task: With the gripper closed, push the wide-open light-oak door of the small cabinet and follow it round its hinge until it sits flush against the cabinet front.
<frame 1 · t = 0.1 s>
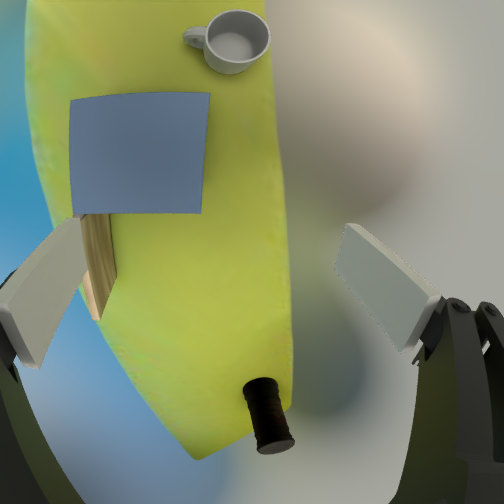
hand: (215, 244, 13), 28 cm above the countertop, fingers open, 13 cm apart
door: (97, 252, 33), point 7 cm above the countertop, hinge at 90.0°
cabinet: (153, 142, 35), on the countertop
cup: (219, 50, 30), on the countertop
container: (259, 386, 64), on the countertop
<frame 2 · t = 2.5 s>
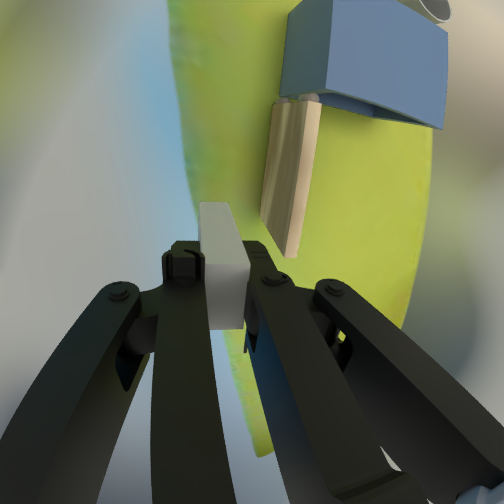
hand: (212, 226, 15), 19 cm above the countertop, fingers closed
door: (284, 166, 27), point 6 cm above the countertop, hinge at 90.0°
cabinet: (336, 65, 28), on the countertop
cup: (387, 5, 23), on the countertop
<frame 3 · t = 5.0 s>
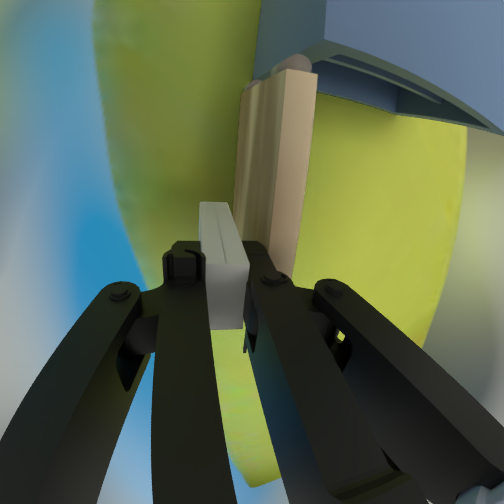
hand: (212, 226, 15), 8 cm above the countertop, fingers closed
door: (257, 198, 16), point 7 cm above the countertop, hinge at 88.8°, touching gripper
cabinet: (339, 35, 17), on the countertop
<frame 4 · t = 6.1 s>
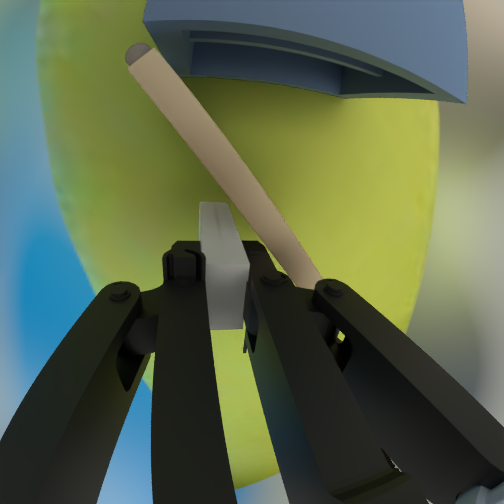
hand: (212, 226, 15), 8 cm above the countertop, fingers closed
door: (231, 169, 15), point 6 cm above the countertop, hinge at 50.1°, touching gripper
cabinet: (273, 19, 16), on the countertop
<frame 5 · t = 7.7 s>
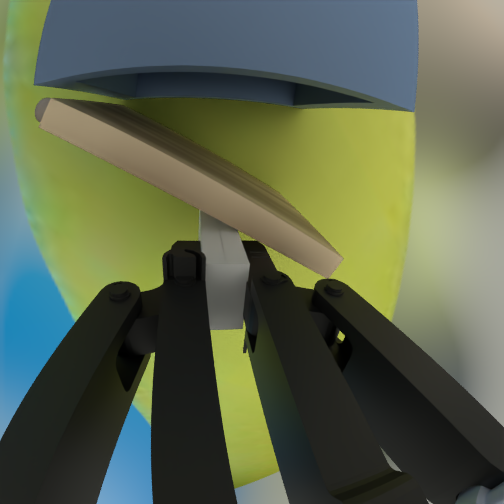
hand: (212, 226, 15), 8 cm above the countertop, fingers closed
door: (192, 162, 14), point 7 cm above the countertop, hinge at 27.9°, touching gripper
cabinet: (222, 29, 16), on the countertop
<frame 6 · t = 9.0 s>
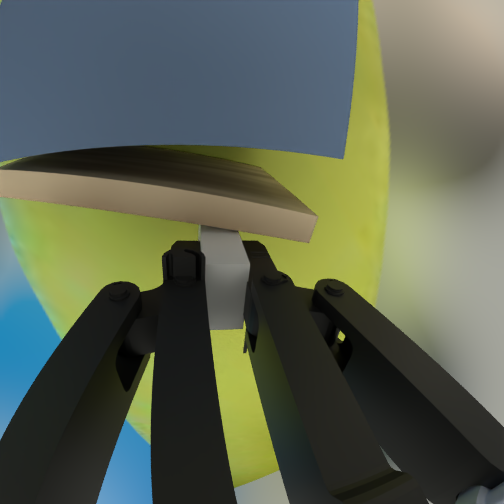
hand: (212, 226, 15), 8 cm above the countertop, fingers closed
door: (150, 169, 14), point 6 cm above the countertop, hinge at 9.0°, touching gripper
cabinet: (178, 56, 16), on the countertop
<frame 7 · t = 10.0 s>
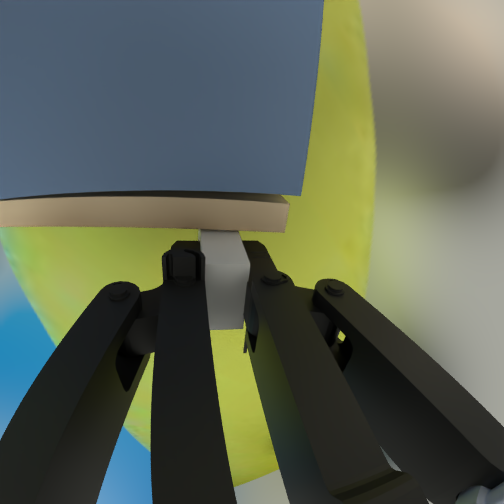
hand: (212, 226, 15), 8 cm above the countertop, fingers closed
door: (128, 179, 14), point 6 cm above the countertop, hinge at 1.3°, touching gripper
cabinet: (158, 74, 17), on the countertop
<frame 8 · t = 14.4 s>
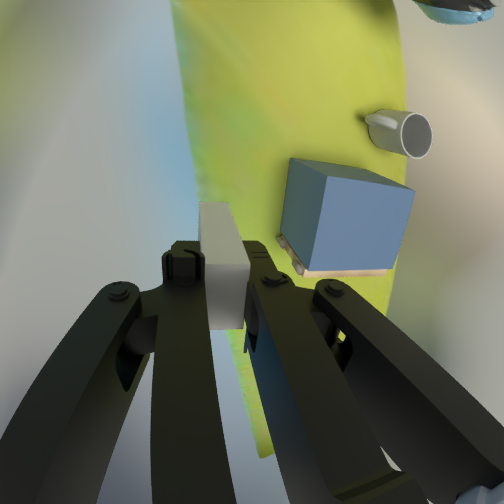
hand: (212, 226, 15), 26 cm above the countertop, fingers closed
door: (330, 254, 42), point 6 cm above the countertop, hinge at 1.3°
cabinet: (324, 198, 44), on the countertop
cup: (377, 126, 40), on the countertop
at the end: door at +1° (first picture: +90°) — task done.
